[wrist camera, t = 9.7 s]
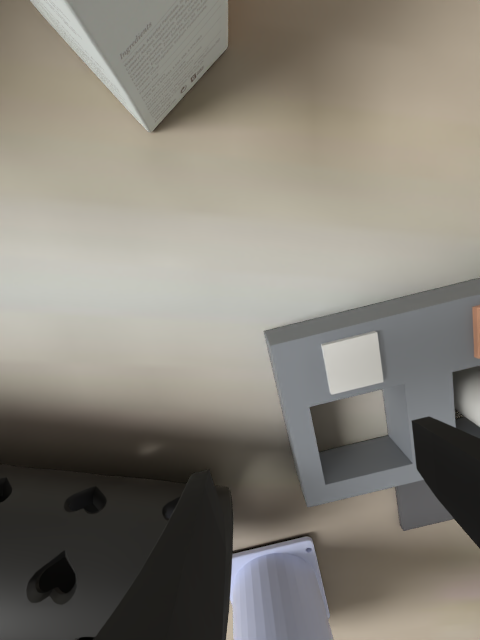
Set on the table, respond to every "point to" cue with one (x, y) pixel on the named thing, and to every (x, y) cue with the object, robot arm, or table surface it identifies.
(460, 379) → the plug
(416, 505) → the plug mat
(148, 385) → the table surface
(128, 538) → the muzzle brake
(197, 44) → the small box
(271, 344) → the socket board
